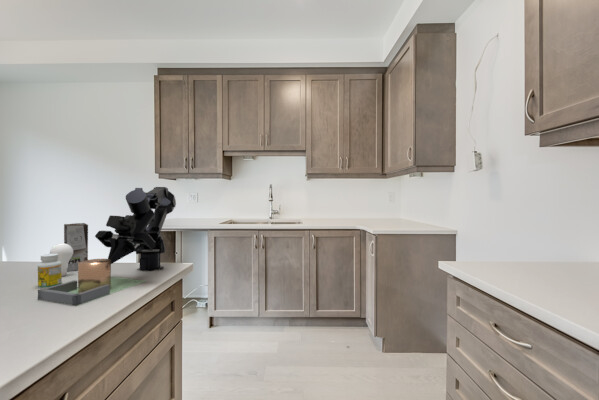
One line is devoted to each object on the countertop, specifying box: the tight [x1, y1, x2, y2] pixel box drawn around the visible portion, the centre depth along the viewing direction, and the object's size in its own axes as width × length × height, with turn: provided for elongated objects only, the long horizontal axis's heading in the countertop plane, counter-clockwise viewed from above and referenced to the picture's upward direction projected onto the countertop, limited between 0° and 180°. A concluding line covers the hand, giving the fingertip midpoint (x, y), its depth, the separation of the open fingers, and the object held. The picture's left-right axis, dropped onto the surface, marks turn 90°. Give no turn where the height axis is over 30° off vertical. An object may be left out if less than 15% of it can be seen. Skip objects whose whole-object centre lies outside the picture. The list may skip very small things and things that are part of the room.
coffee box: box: [63, 222, 89, 272], centre depth 111 cm, size 9×6×16 cm
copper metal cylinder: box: [77, 258, 112, 293], centre depth 85 cm, size 8×8×8 cm
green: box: [37, 276, 147, 307], centre depth 86 cm, size 22×14×1 cm, turn 163°
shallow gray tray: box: [37, 279, 111, 307], centre depth 80 cm, size 9×13×2 cm
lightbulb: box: [49, 242, 73, 278], centre depth 100 cm, size 6×6×11 cm
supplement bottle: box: [37, 253, 63, 289], centre depth 89 cm, size 5×5×10 cm
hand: (108, 263), depth 89 cm, fingers closed
